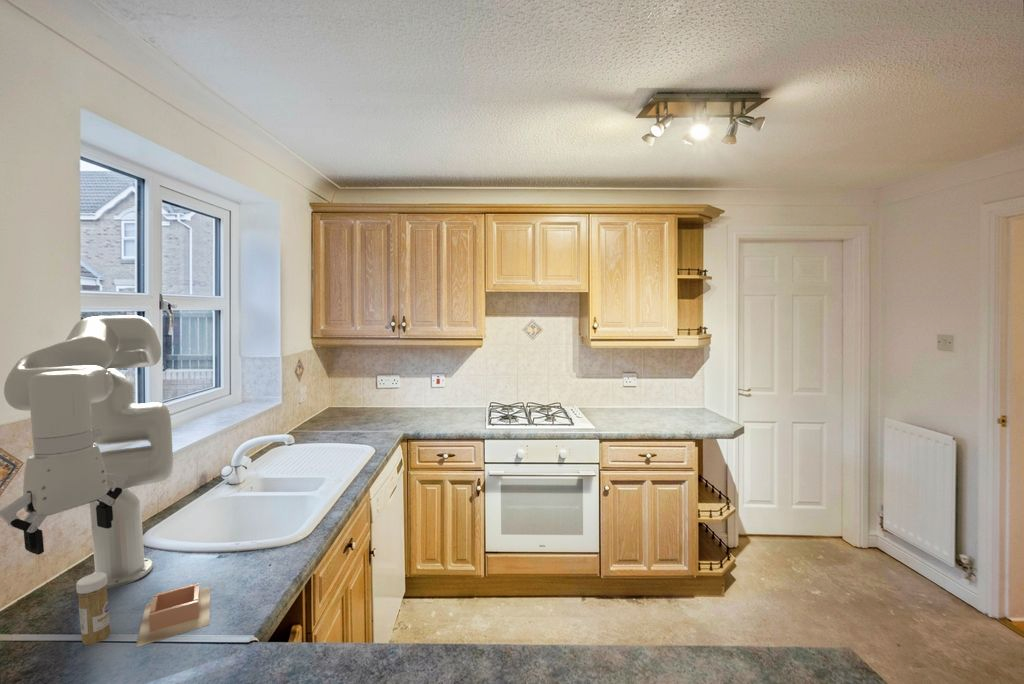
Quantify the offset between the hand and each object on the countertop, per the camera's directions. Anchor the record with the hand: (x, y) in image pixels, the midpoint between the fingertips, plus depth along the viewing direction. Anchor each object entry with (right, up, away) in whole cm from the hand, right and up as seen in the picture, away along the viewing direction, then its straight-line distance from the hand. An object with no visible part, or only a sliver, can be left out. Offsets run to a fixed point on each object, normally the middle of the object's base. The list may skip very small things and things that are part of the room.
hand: (72, 539), depth 83 cm
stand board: (+5, -25, +18) cm, 31 cm away
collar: (+5, -24, +18) cm, 30 cm away
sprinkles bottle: (-6, -26, +11) cm, 29 cm away
